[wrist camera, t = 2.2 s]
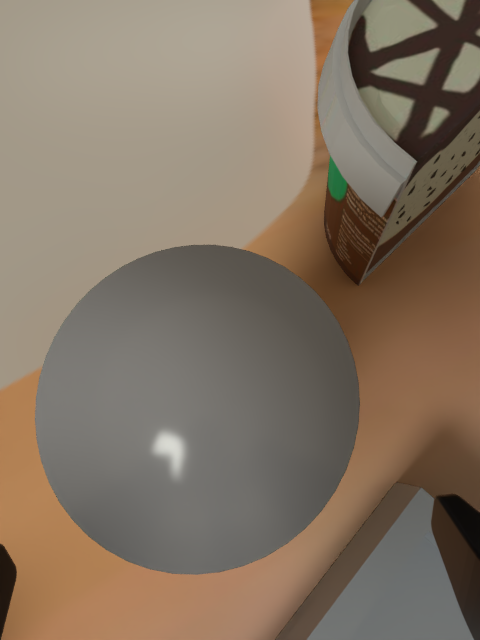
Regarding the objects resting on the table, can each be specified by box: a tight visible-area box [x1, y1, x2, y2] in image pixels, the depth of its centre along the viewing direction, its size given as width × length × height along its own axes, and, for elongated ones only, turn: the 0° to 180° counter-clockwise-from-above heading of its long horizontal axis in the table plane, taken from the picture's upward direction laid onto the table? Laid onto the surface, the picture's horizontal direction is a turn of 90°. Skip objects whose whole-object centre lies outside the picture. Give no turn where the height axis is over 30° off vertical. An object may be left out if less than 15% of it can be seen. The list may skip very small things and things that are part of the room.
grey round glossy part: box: [35, 245, 360, 575], centre depth 13 cm, size 6×6×12 cm
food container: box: [318, 0, 480, 286], centre depth 18 cm, size 12×6×10 cm, turn 134°
